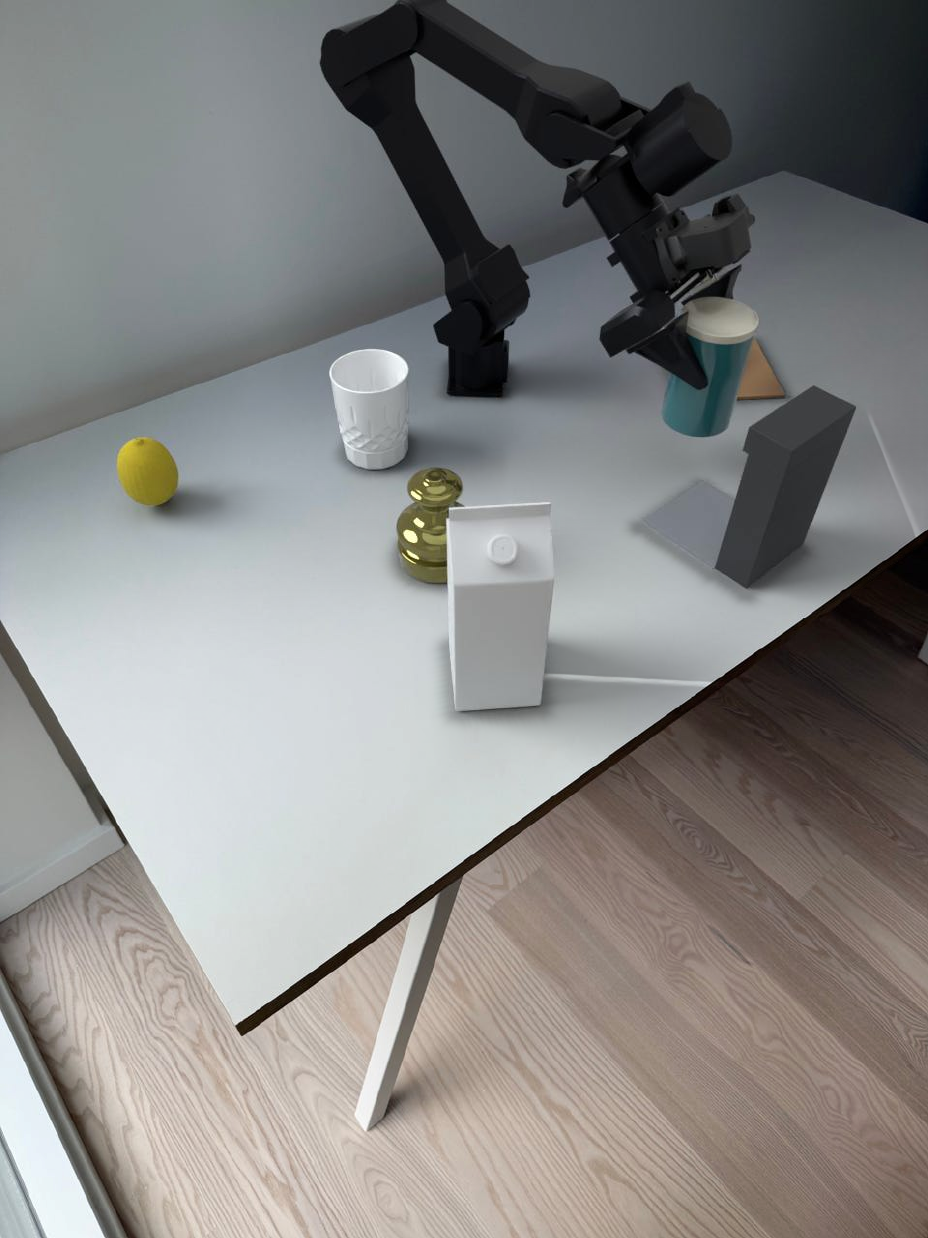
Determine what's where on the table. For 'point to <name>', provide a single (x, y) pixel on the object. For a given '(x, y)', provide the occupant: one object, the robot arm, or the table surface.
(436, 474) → the brass calibration weight
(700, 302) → the container
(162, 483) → the lemon
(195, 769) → the table surface
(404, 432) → the white cup
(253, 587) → the table surface
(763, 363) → the cork mat
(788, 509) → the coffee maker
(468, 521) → the milk carton
